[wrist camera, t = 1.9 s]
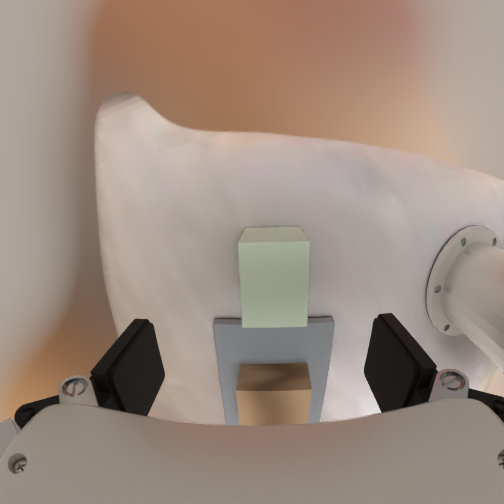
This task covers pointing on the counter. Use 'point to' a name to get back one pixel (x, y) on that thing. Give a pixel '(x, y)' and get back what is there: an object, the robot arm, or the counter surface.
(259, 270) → the sage block
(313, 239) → the counter surface
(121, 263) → the counter surface
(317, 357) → the slate baseplate
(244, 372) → the walnut base block
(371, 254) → the counter surface
